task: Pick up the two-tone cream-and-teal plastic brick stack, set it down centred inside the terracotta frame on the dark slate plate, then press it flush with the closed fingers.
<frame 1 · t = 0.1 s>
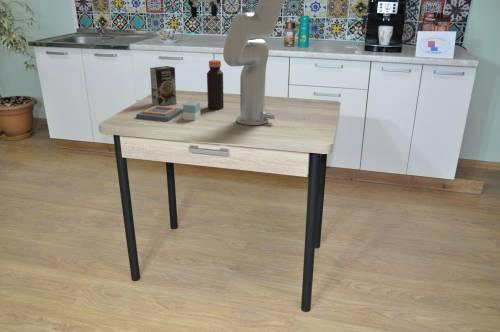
hand: (204, 16, 194), 37 cm above the table, tool pointing down, fingers open, 9 cm apart
bottle: (215, 108, 203), on the table
slate plate: (160, 115, 191), on the table
brick stack: (192, 118, 188), on the table
coffee box: (164, 104, 209), on the table
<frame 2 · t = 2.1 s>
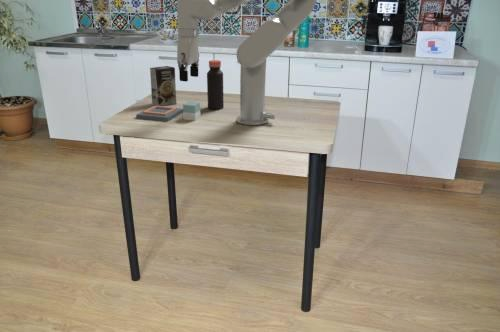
hand: (189, 78, 182), 16 cm above the table, tool pointing down, fingers open, 9 cm apart
nothing on the table moved.
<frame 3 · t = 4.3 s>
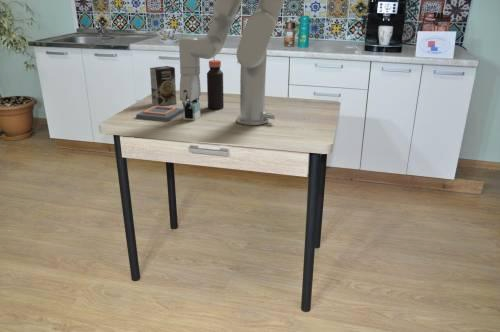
hand: (191, 115, 187), 1 cm above the table, tool pointing down, fingers closed on brick stack, 5 cm apart
brick stack: (192, 118, 188), on the table, touching gripper
everything else where it was.
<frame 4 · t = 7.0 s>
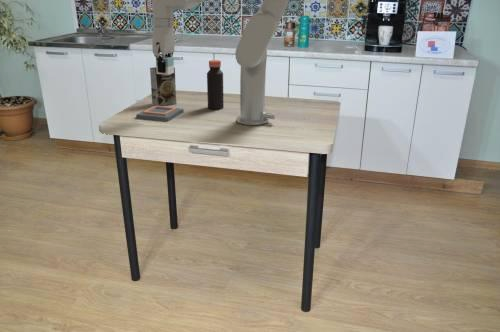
hand: (165, 70, 184), 18 cm above the table, tool pointing down, fingers closed on brick stack, 5 cm apart
brick stack: (165, 73, 184), point 17 cm above the table, touching gripper
everything else where it was.
when the fingers open (3 cm above the table, at t = 9.9 s): brick stack stays where it is, resting on slate plate.
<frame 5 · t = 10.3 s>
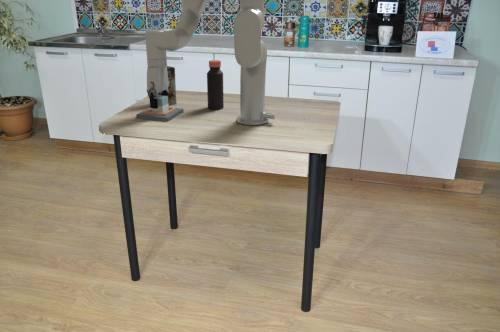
hand: (159, 105, 190), 4 cm above the table, tool pointing down, fingers open, 9 cm apart
brick stack: (160, 111, 191), point 1 cm above the table, touching slate plate
everything else where it was.
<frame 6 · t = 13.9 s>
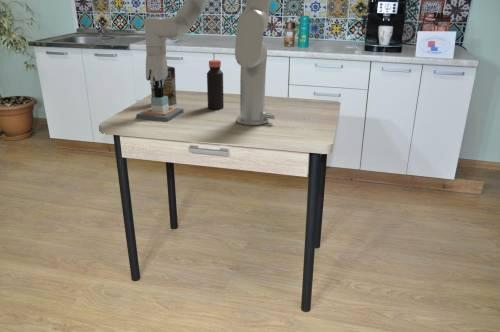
hand: (159, 96, 189), 8 cm above the table, tool pointing down, fingers closed
brick stack: (160, 111, 191), point 1 cm above the table, touching gripper, slate plate
everything else where it was.
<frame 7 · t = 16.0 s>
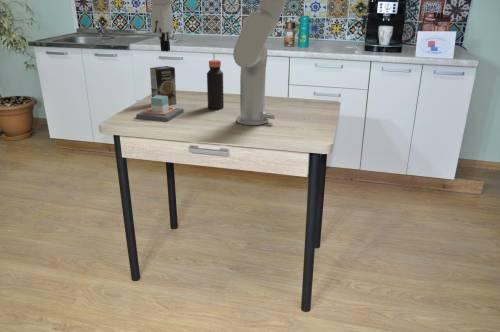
hand: (165, 50, 184), 25 cm above the table, tool pointing down, fingers closed
brick stack: (160, 111, 191), point 1 cm above the table, touching slate plate
everything else where it was.
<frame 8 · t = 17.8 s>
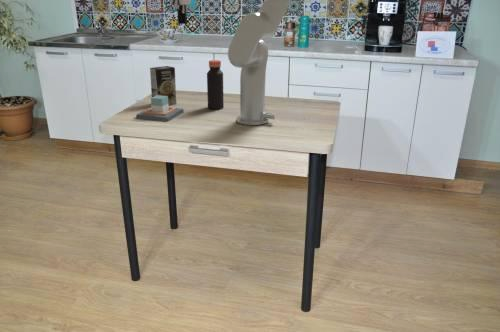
hand: (182, 23, 187), 35 cm above the table, tool pointing down, fingers closed
nothing on the table moved.
at the end: brick stack 0.0 cm off-centre on the slate plate, point 1.5 cm above the slate plate's base; brick stack tilted 0°; the gripper is holding nothing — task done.
